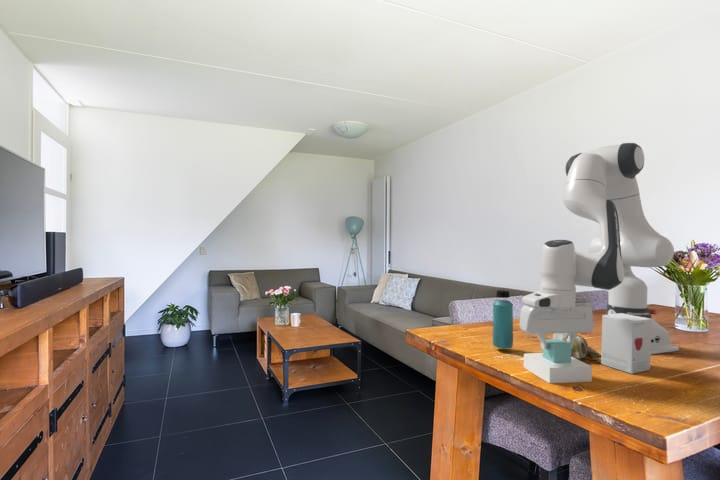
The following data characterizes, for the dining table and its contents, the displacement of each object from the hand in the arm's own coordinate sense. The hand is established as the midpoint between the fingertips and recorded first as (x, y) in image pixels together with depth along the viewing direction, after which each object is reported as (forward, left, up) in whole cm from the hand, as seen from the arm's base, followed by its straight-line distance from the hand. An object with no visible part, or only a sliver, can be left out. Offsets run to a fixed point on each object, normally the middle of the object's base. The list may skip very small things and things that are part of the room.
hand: (556, 348), depth 104 cm
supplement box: (-24, -3, -7) cm, 25 cm away
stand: (0, 0, -7) cm, 7 cm away
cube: (0, 0, -3) cm, 3 cm away
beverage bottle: (+4, -22, -7) cm, 24 cm away
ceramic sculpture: (-15, -13, -7) cm, 21 cm away
